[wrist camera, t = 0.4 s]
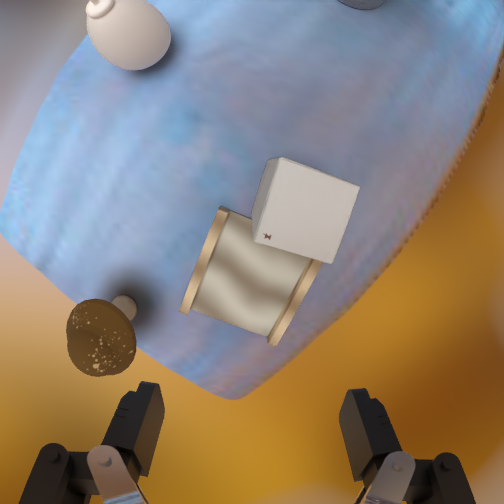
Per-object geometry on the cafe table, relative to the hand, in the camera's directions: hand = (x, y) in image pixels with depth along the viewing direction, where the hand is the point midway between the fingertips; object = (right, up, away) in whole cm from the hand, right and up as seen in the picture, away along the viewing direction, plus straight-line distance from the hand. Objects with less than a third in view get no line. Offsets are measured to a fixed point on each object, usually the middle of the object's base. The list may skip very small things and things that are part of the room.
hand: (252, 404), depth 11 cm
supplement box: (+4, +13, +24) cm, 28 cm away
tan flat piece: (0, +3, +27) cm, 27 cm away
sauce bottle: (-13, +32, +18) cm, 39 cm away
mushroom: (-18, 0, +29) cm, 34 cm away
